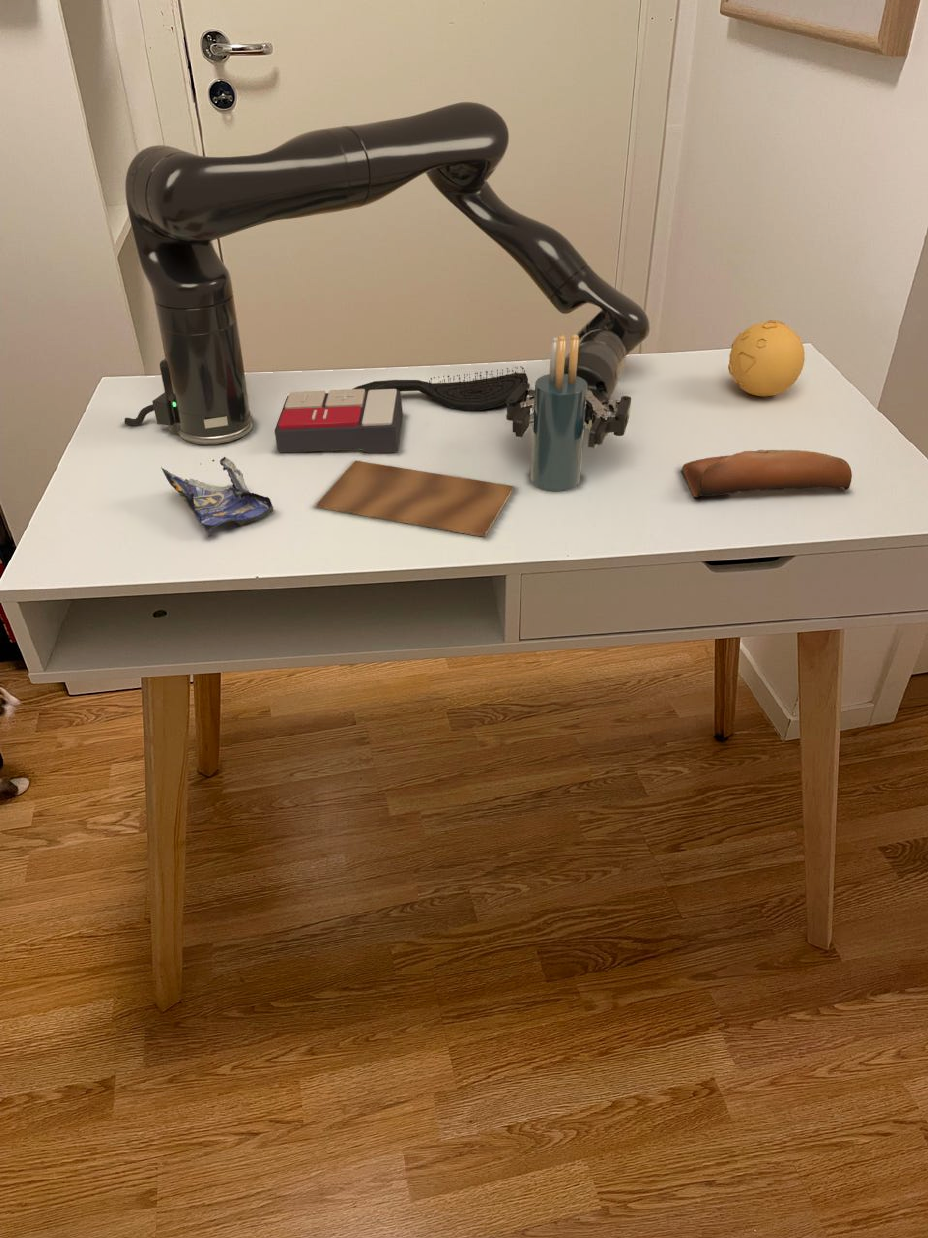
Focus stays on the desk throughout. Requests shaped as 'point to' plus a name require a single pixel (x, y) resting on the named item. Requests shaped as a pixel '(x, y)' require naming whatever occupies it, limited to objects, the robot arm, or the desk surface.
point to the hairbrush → (460, 390)
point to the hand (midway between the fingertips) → (554, 434)
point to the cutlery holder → (559, 421)
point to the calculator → (340, 421)
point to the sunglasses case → (766, 472)
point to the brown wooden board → (417, 498)
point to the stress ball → (766, 358)
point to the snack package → (221, 499)
